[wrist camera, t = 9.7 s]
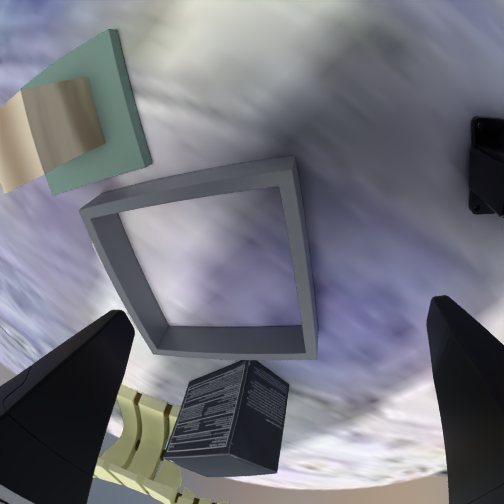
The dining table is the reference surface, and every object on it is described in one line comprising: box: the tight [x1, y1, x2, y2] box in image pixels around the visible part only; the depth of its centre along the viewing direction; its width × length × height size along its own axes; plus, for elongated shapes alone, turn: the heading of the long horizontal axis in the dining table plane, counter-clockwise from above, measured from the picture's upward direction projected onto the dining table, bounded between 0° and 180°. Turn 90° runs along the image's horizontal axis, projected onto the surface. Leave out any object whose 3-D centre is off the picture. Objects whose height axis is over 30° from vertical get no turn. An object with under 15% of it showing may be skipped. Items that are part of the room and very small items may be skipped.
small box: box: [163, 360, 289, 477], centre depth 27 cm, size 11×6×10 cm, turn 135°
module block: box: [0, 77, 106, 194], centre depth 14 cm, size 5×5×6 cm
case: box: [79, 155, 318, 360], centre depth 21 cm, size 15×15×3 cm
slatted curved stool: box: [93, 384, 230, 504], centre depth 35 cm, size 30×16×18 cm, turn 78°
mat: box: [21, 29, 152, 196], centre depth 17 cm, size 10×10×1 cm
